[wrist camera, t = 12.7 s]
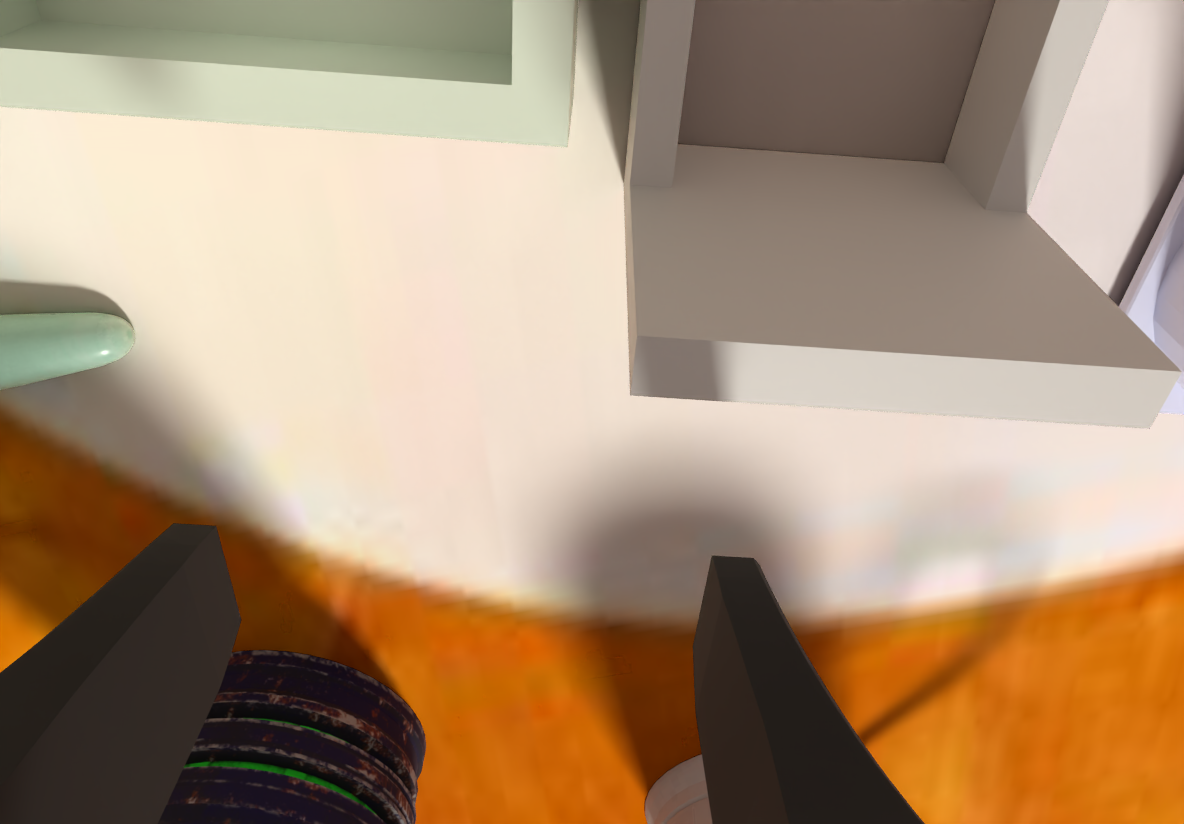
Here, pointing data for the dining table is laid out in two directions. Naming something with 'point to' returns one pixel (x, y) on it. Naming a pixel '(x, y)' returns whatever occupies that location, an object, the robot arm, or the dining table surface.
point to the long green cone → (59, 345)
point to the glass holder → (680, 796)
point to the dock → (877, 254)
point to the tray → (302, 63)
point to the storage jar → (300, 748)
